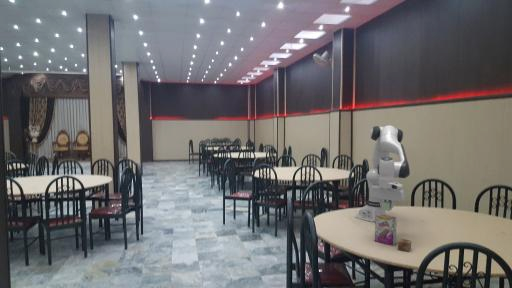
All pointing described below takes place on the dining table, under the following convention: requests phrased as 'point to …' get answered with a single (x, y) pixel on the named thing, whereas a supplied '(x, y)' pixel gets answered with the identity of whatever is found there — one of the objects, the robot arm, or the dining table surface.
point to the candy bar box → (385, 229)
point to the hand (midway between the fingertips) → (386, 207)
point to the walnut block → (404, 245)
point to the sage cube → (386, 206)
